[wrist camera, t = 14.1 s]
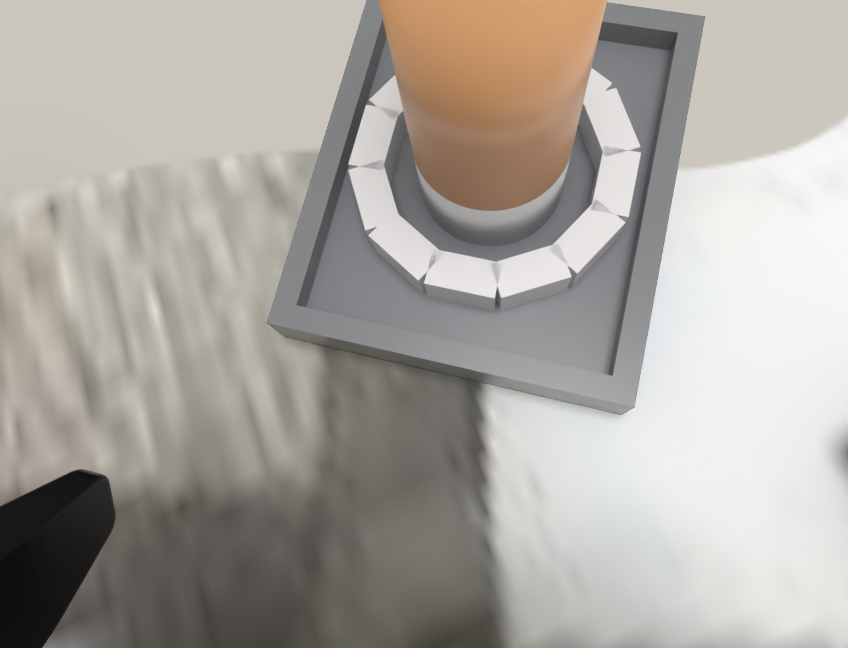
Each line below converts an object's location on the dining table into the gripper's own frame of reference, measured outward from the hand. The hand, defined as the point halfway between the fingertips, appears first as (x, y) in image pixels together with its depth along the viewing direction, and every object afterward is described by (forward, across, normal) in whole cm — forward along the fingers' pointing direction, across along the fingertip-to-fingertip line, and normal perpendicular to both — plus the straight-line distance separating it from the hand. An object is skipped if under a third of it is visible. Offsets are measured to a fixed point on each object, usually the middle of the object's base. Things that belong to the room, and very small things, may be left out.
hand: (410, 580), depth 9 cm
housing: (+18, +2, +1) cm, 18 cm away
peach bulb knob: (+17, +2, 0) cm, 17 cm away
